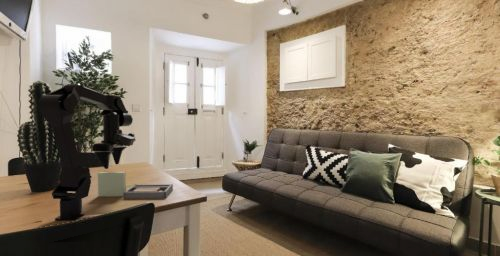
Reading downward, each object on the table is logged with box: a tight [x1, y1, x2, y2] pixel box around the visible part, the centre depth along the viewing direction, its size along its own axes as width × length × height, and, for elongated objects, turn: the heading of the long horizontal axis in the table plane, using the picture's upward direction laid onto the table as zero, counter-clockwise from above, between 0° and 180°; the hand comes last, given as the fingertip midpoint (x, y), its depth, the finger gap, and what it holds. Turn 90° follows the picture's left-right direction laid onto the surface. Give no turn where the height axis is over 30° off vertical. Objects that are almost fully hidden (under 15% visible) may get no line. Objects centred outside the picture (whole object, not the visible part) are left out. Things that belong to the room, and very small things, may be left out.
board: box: [97, 171, 127, 197], centre depth 106 cm, size 2×10×10 cm, turn 94°
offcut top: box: [133, 188, 160, 192], centre depth 107 cm, size 5×9×1 cm, turn 94°
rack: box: [123, 183, 174, 200], centre depth 109 cm, size 12×16×3 cm
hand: (112, 166), depth 106 cm, fingers open, 9 cm apart
